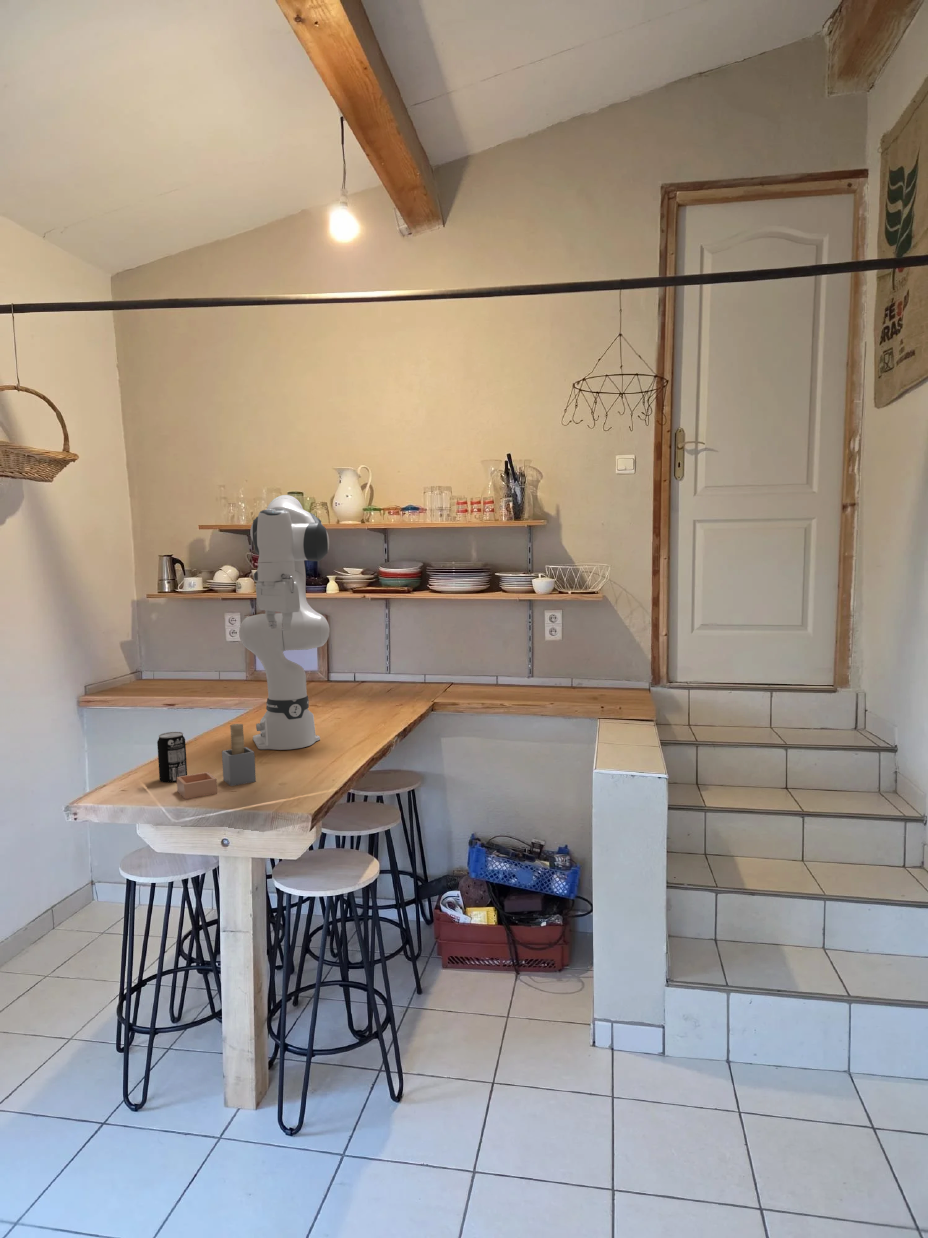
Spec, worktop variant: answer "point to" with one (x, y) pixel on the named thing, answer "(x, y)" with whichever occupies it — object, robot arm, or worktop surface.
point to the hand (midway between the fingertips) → (279, 629)
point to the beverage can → (171, 756)
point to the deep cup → (238, 767)
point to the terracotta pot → (196, 785)
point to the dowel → (237, 739)
